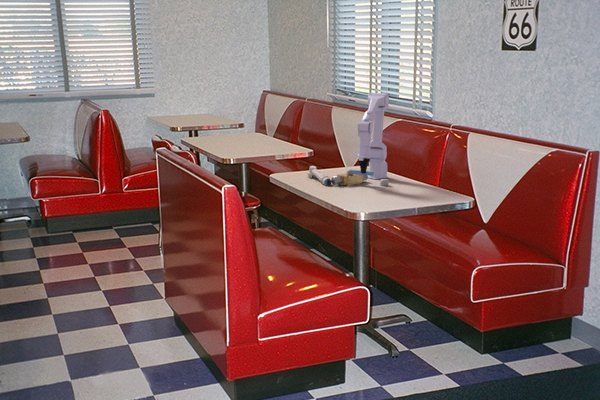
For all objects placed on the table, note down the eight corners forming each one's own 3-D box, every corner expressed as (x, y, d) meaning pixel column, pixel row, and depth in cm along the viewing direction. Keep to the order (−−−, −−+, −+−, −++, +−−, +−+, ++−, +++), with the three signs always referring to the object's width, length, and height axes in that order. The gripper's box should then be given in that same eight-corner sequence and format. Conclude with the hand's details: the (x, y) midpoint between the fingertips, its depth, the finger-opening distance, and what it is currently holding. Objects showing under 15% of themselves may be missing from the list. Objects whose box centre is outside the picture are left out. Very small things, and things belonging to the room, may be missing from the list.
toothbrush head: (323, 178, 361) (306, 163, 383) (322, 191, 363) (305, 175, 385) (333, 178, 362) (315, 163, 384) (332, 190, 365) (315, 175, 387)
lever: (347, 173, 370) (347, 168, 369) (373, 175, 365) (374, 171, 364) (345, 174, 367) (345, 169, 366) (372, 177, 362) (372, 172, 361)
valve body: (360, 180, 378) (360, 171, 377) (369, 182, 372) (369, 173, 371) (329, 184, 365) (329, 175, 364) (338, 187, 359) (338, 177, 358)
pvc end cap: (384, 184, 368) (384, 178, 367) (390, 185, 365) (390, 180, 364) (378, 185, 365) (378, 179, 365) (384, 186, 362) (384, 180, 362)
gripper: (359, 143, 368) (358, 170, 371) (353, 147, 355) (352, 175, 357) (373, 144, 366) (372, 171, 369) (367, 148, 353) (366, 176, 355)
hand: (363, 173), depth 363 cm, fingers closed, pressing on lever
